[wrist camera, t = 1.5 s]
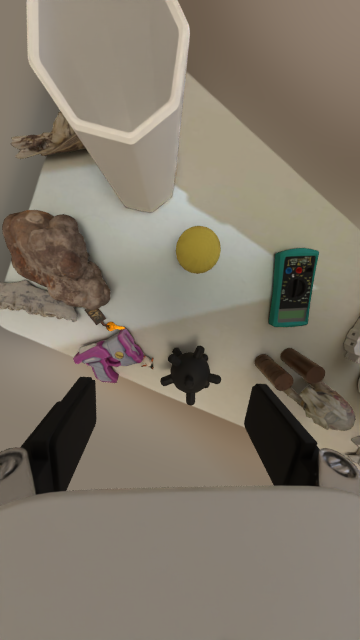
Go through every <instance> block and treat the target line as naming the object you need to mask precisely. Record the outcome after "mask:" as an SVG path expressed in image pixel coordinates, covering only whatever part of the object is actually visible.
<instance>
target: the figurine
mask: <svg viewBox="0 0 360 640" xmlns="http://www.w3.org/2000/svg"><path fill="white" fill-rule="evenodd" d="M304 381H305V382H306V383H308V384H310V385H311V386H313V387H314V388H313V389H311V388H310V387H309V386H307V387H306V388H305V389H304V390H303V391H302V392H301V393H300V395H298V394H297V393H296V392H295V391H294V390H293V389H292V388H289V389H287V390H285V391H283V392H285V393H286V394H287V395H288V396H289V397H291V398H292V399H294V400H295V401H296V402H297V403H298V404H299V405H300V406H301V407H303V409H304V410H305V411H306V416H307V417H309V418H312V419H313V421H314V423H315V424H318V425H320V426H321V427H323V428H325V429H326V430H328V429H329V428H330V429H333V430H340V431H345V430H349V429H351V428H352V427H353V426H354V422H355V420H356V419H355V413H354V411H353V409H352V407H351V406H350V405H349V403H348V402H347V401H345V400H344V398H343V397H342V396H341V395H339V394H338V393H337V392H336V391H334V390H332V389H331V388H330V387H329V386H328V385H326V384H325V383H324V382H322V381H320V382H318V383H315V384H312V383H309V382H308V381H307V380H305V379H304Z"/></svg>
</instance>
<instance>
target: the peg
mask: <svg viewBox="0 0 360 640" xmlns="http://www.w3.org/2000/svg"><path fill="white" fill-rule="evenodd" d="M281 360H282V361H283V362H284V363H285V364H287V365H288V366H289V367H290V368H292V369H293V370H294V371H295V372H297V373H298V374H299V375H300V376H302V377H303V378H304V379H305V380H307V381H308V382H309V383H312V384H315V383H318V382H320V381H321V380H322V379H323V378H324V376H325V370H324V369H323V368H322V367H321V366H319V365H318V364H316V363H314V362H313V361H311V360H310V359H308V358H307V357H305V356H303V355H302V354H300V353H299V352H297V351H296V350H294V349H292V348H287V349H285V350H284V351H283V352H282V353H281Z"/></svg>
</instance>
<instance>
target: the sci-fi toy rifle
mask: <svg viewBox="0 0 360 640" xmlns="http://www.w3.org/2000/svg"><path fill="white" fill-rule="evenodd" d="M344 349H345V350H347V351H348V352H347V354H346V355H345V357H346V358H348V359H350V360H352V361H354V362H356V363H359V364H360V318H359V319H358V321H357V322H356V324H355V326H354V327H353V328H352V329H350V331H349V332H348V334H347V336H346V340H345V342H344Z"/></svg>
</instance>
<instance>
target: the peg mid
mask: <svg viewBox="0 0 360 640" xmlns="http://www.w3.org/2000/svg"><path fill="white" fill-rule="evenodd" d="M255 366H256V367H257V368H258V369H259V370H260V371H261V372H262V374H263V375H264V376H265V377H266V378H267V379H268V380H269V381H270V382H271V383H272V385H273V386H274V387H275V388H276V389H277V390H280V391H285V390H287V389H289V388H290V387H291V386H292V384H293V377H292V376H291V375H290V374H289V373H288V372H286V371H285V370H284V369H283V368H282V367H281V366H279V365H278V364H277V363H276V362H275V361H274V360H273V359H271V358H270V357H269V356H268V355H266V354H261V355H259V356H258V357H257V358H256V359H255Z"/></svg>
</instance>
